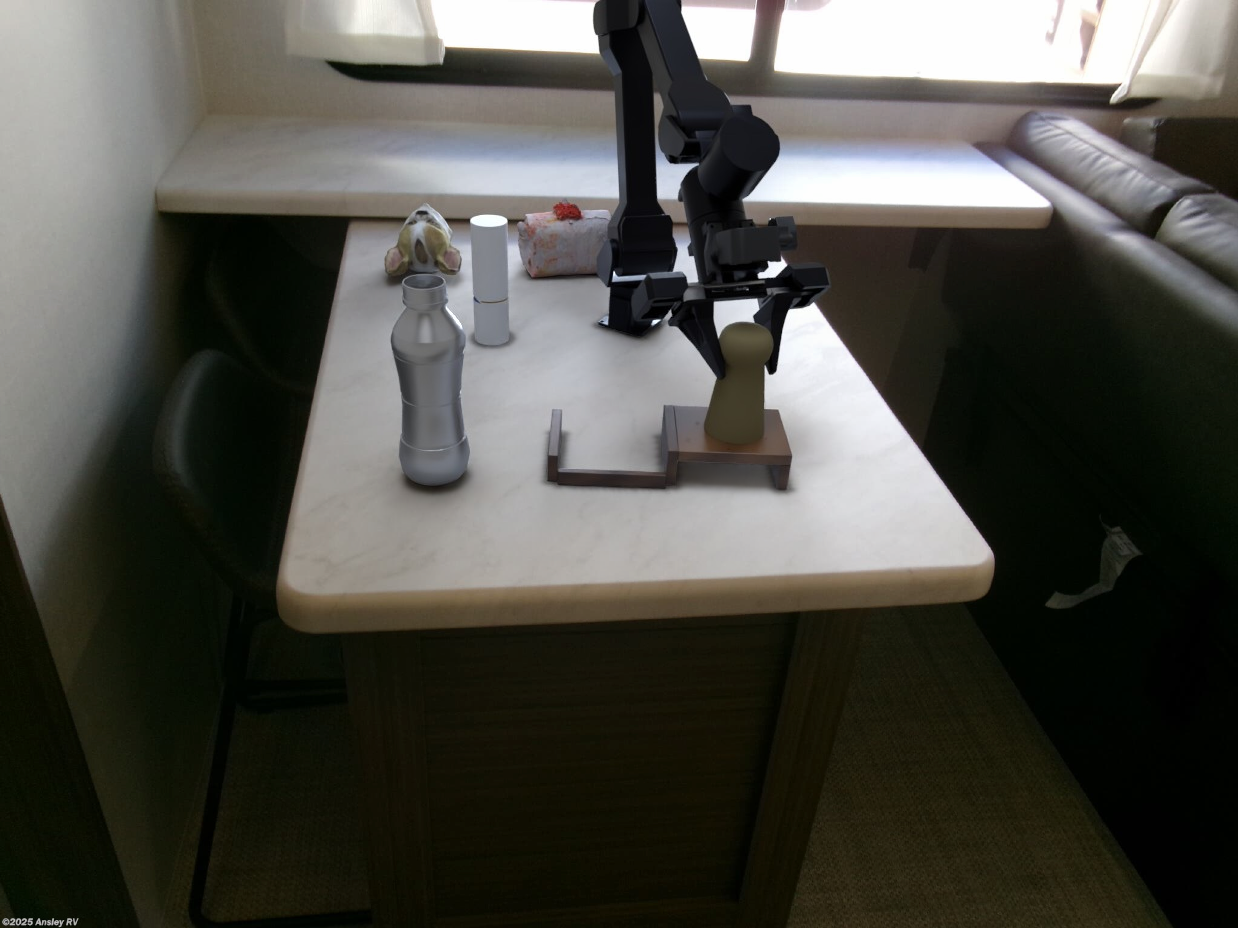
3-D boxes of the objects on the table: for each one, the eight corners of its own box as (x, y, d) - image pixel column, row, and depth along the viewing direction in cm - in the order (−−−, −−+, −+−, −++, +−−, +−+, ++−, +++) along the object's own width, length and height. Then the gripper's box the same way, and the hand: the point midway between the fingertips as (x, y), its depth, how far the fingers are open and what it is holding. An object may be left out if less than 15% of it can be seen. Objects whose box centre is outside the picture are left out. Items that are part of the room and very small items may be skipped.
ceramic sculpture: (461, 192, 139) (458, 233, 127) (464, 248, 144) (462, 292, 132) (387, 192, 137) (377, 233, 125) (393, 248, 142) (384, 293, 130)
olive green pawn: (772, 442, 93) (789, 340, 87) (712, 445, 92) (725, 343, 86) (754, 411, 98) (768, 313, 92) (697, 413, 97) (708, 314, 91)
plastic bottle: (404, 457, 95) (387, 267, 84) (472, 457, 95) (465, 268, 84) (397, 494, 89) (378, 296, 78) (469, 494, 90) (461, 297, 79)
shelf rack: (547, 484, 92) (547, 449, 90) (552, 433, 100) (552, 400, 98) (787, 492, 93) (793, 458, 91) (773, 441, 101) (778, 409, 99)
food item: (525, 282, 134) (524, 214, 129) (516, 261, 141) (515, 196, 135) (618, 277, 137) (621, 210, 132) (605, 257, 144) (608, 193, 139)
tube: (515, 335, 120) (514, 219, 111) (498, 348, 116) (495, 229, 108) (486, 328, 121) (482, 212, 113) (468, 340, 118) (463, 222, 110)
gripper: (649, 187, 83) (680, 358, 80) (840, 179, 88) (876, 340, 85) (618, 242, 93) (645, 394, 91) (791, 232, 98) (821, 376, 96)
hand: (747, 376), depth 90 cm, fingers closed on olive green pawn, 5 cm apart
